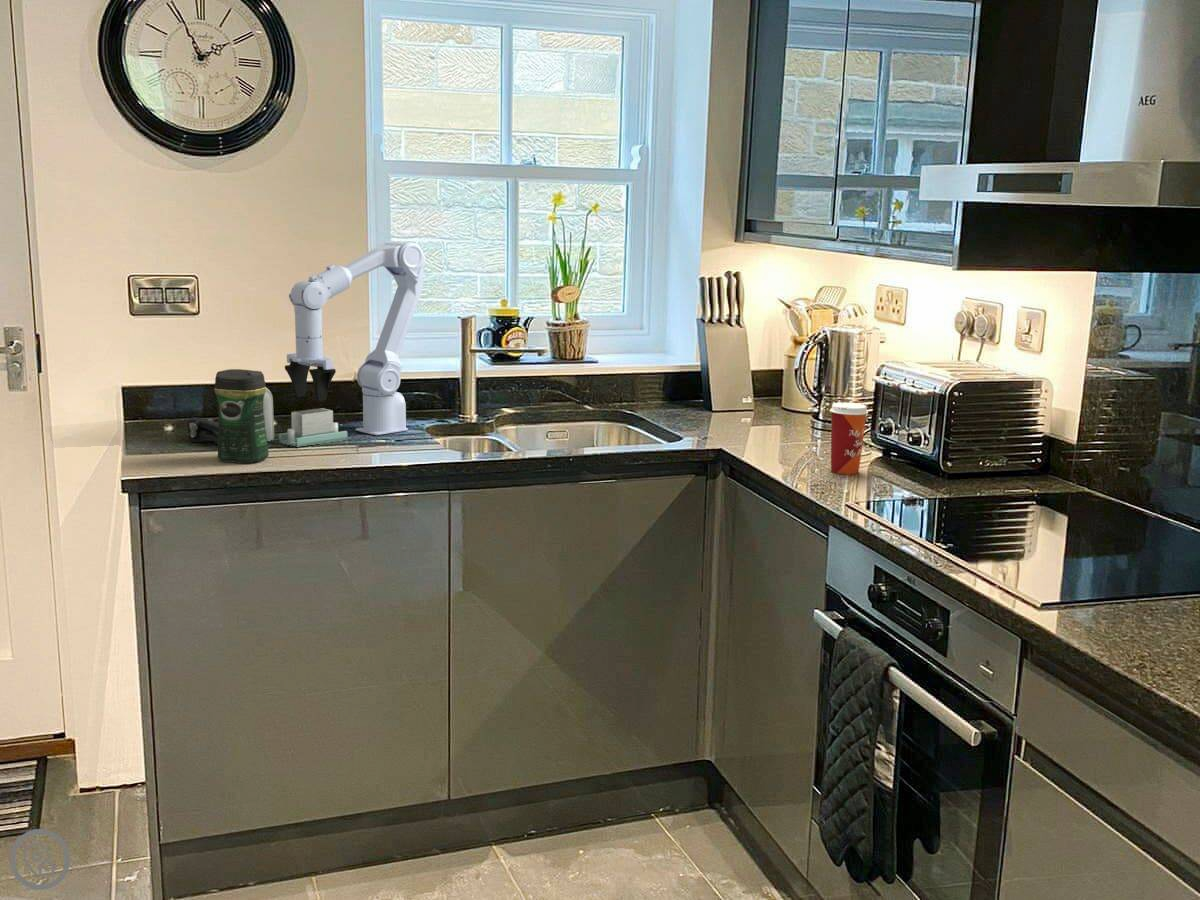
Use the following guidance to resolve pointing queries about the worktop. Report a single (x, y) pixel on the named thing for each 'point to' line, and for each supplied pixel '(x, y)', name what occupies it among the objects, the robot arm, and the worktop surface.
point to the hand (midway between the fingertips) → (310, 398)
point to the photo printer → (268, 415)
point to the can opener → (203, 430)
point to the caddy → (313, 437)
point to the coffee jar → (241, 416)
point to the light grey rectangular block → (312, 422)
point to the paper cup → (847, 437)
